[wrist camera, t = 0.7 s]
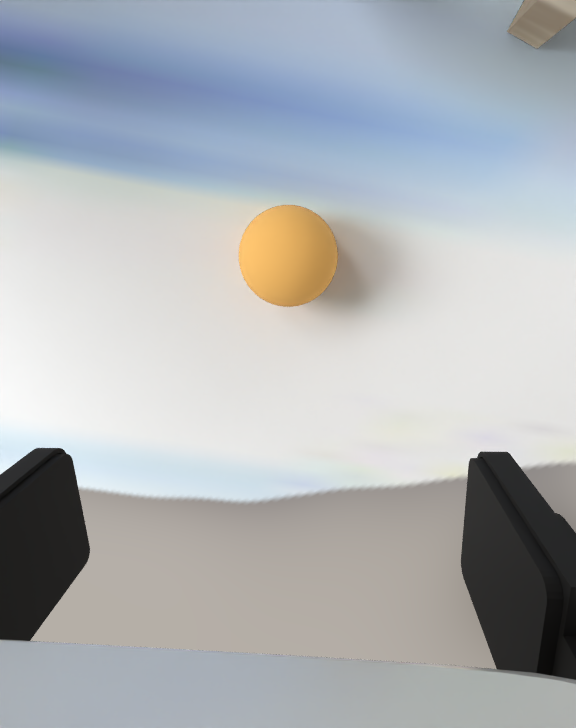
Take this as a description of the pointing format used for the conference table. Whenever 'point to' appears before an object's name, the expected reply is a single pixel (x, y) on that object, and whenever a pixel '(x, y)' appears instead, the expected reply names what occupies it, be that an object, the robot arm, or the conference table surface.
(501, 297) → the conference table surface
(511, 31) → the bridge
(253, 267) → the ball
